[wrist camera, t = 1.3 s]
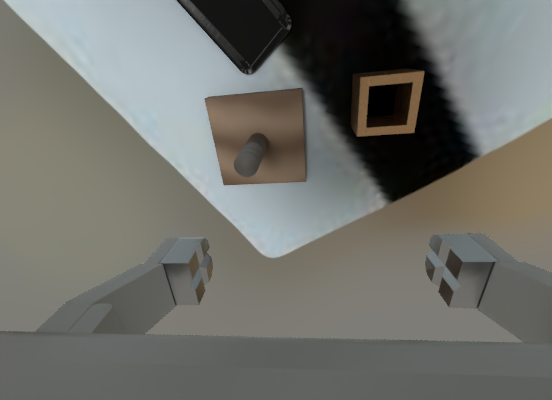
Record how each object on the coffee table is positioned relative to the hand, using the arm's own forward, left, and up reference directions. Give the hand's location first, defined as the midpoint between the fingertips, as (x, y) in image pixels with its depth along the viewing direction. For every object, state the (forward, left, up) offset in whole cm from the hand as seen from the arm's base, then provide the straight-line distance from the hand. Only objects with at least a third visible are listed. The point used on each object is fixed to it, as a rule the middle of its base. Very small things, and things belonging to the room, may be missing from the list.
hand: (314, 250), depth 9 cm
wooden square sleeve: (-1, +8, -27) cm, 28 cm away
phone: (-13, -9, -27) cm, 31 cm away
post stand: (+3, -7, -27) cm, 28 cm away
